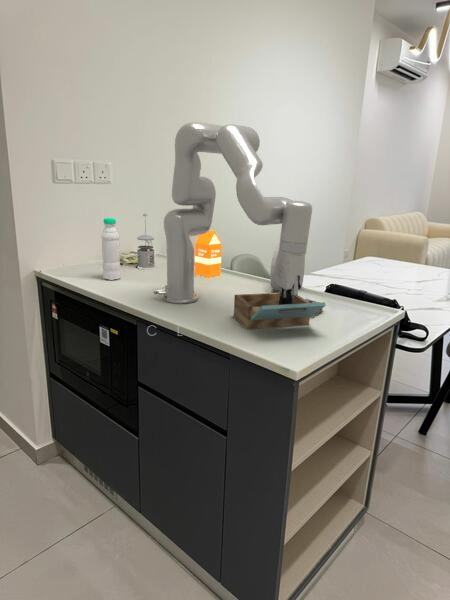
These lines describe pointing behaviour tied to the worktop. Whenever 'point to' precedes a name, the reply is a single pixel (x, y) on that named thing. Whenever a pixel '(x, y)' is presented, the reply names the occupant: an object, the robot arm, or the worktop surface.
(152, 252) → the french press
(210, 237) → the orange juice
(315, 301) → the egg carton
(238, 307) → the wooden open box
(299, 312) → the light blue flat panel
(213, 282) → the worktop surface
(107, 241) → the water bottle
